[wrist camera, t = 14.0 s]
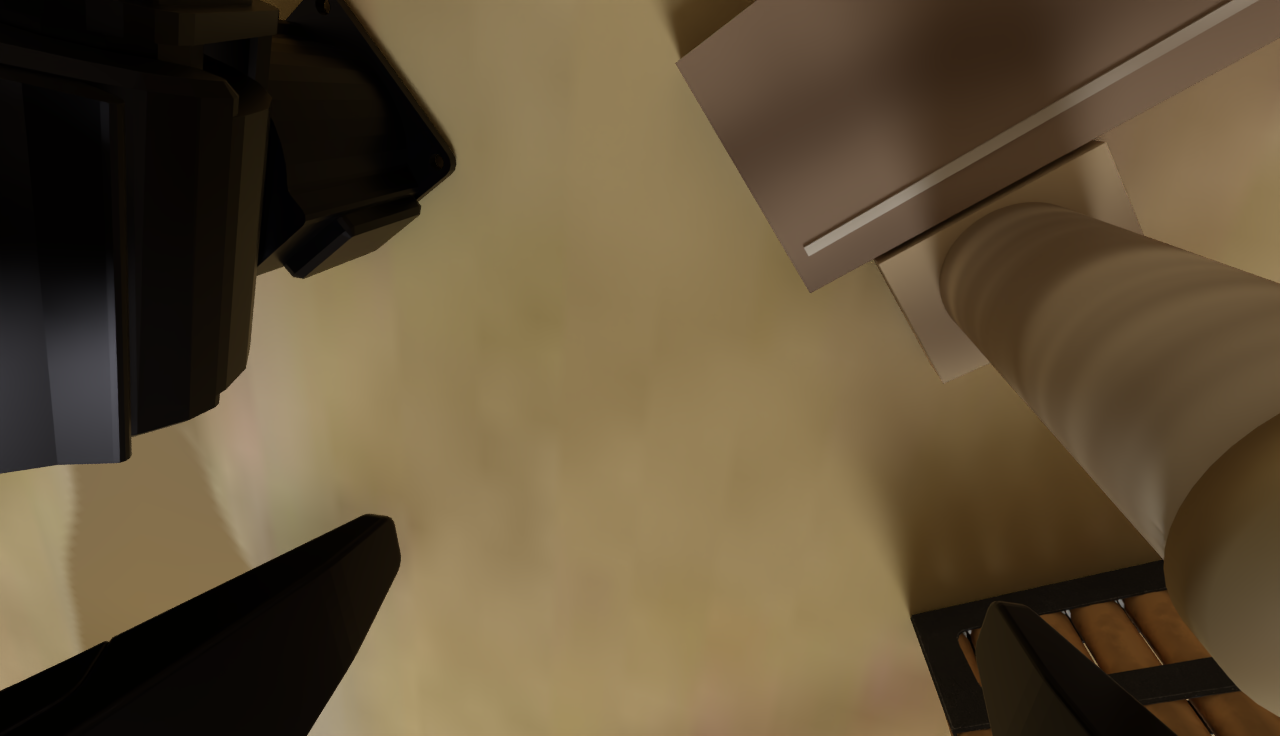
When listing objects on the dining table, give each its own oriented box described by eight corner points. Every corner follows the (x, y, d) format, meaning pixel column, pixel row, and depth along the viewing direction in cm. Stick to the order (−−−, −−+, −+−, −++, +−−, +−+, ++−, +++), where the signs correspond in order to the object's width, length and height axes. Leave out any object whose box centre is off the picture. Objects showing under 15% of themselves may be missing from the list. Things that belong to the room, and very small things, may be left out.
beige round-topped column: (868, 249, 19) (1073, 532, 6) (1074, 134, 16) (1986, 237, 4) (931, 365, 20) (1209, 793, 8) (1132, 273, 18) (1981, 668, 5)
